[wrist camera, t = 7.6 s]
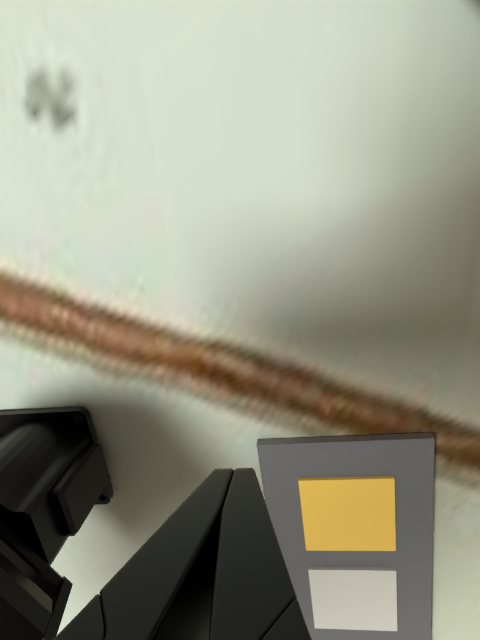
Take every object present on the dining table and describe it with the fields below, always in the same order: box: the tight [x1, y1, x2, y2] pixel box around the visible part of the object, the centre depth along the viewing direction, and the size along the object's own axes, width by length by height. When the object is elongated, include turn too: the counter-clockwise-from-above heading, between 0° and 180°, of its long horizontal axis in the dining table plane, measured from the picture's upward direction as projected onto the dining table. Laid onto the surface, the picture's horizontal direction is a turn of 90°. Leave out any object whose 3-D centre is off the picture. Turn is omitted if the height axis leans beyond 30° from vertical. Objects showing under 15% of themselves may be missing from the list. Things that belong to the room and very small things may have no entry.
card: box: [257, 432, 435, 640], centre depth 24 cm, size 9×16×1 cm, turn 8°
